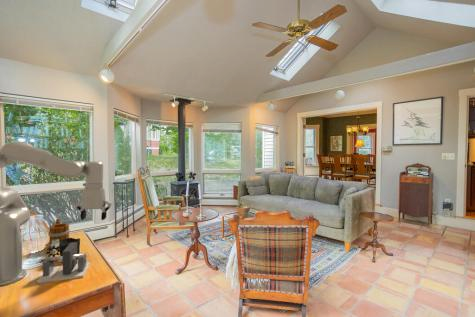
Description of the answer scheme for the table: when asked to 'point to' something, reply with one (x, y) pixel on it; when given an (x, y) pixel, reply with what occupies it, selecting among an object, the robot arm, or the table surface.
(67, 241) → the pen holder
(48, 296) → the table surface
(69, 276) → the base board
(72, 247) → the collar
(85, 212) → the robot arm
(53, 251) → the valve
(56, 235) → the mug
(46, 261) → the pipe
